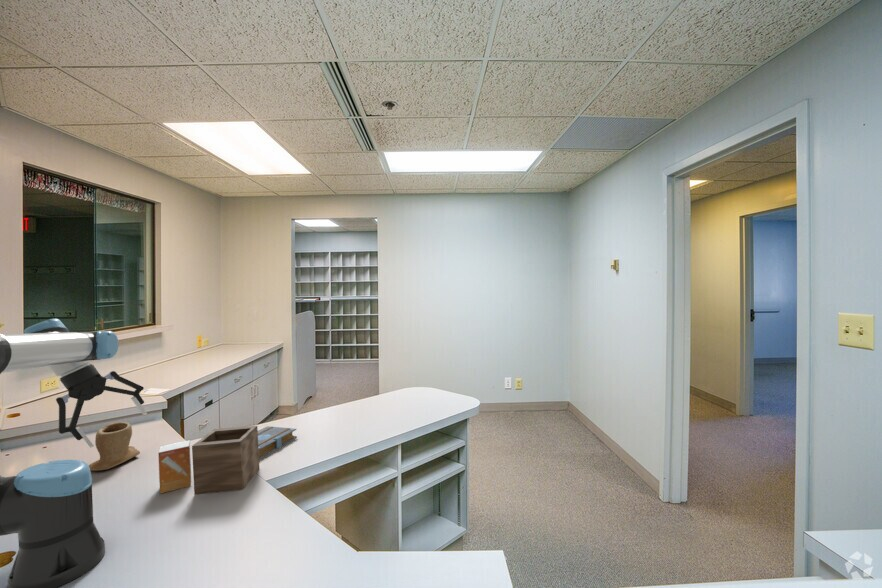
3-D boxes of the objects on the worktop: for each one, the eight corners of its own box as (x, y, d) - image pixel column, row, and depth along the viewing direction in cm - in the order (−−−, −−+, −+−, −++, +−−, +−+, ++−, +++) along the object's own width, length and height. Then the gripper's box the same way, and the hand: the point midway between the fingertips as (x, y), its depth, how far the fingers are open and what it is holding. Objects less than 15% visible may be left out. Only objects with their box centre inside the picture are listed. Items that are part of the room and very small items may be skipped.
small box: (159, 494, 113) (157, 452, 113) (161, 486, 118) (159, 445, 118) (191, 485, 118) (189, 445, 117) (191, 478, 123) (189, 439, 123)
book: (266, 435, 159) (265, 424, 159) (297, 438, 154) (297, 426, 154) (224, 457, 139) (223, 444, 139) (258, 461, 134) (258, 447, 134)
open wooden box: (242, 489, 114) (240, 441, 114) (194, 494, 112) (191, 445, 112) (259, 468, 128) (257, 425, 128) (216, 472, 126) (214, 429, 126)
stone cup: (109, 474, 128) (106, 431, 128) (81, 472, 130) (79, 430, 130) (150, 455, 143) (148, 416, 143) (125, 453, 145) (123, 416, 145)
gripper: (123, 347, 116) (161, 402, 121) (15, 397, 98) (65, 459, 103) (128, 346, 111) (167, 403, 116) (14, 398, 93) (67, 463, 98)
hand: (119, 429), depth 110 cm, fingers open, 13 cm apart
